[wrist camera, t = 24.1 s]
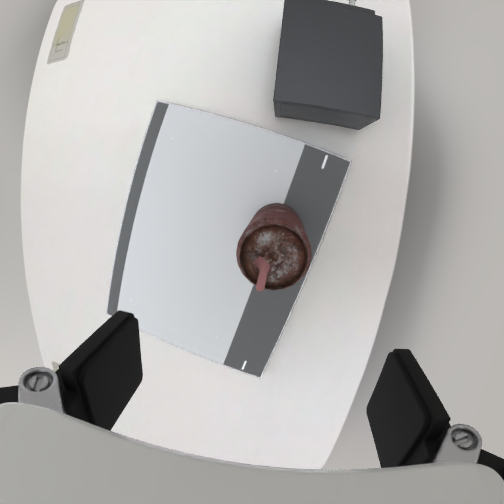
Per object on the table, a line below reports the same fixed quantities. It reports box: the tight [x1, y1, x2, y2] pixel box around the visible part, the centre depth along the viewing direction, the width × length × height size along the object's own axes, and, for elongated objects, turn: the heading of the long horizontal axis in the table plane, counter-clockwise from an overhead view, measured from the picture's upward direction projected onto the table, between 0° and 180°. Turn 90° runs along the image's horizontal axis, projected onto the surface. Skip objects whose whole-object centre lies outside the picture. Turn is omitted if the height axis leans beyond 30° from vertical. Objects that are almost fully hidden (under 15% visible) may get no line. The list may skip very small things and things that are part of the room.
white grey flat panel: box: [106, 100, 352, 378], centre depth 38 cm, size 32×25×1 cm
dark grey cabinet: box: [273, 0, 383, 130], centre depth 28 cm, size 12×10×8 cm
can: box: [236, 203, 312, 292], centre depth 30 cm, size 6×6×14 cm
